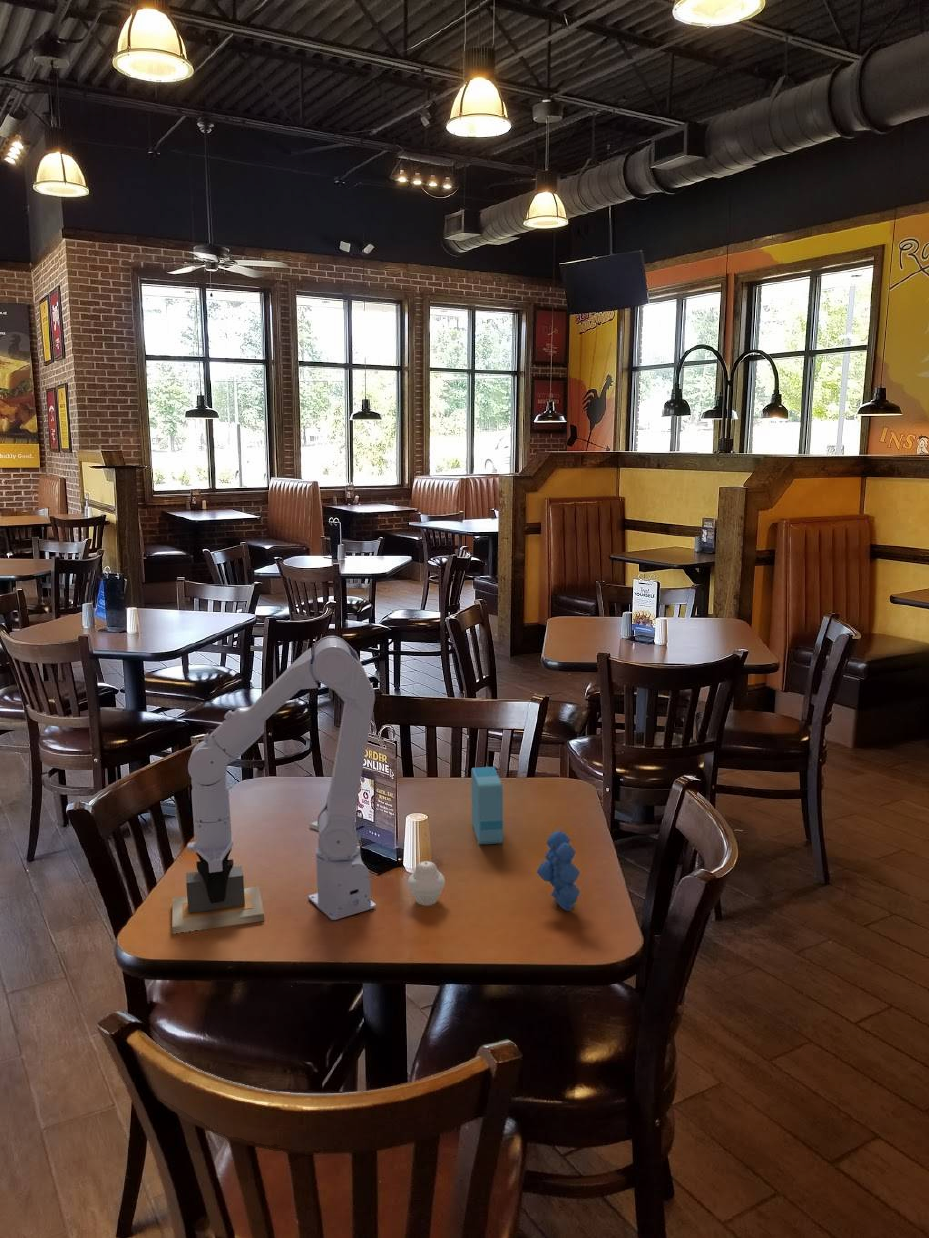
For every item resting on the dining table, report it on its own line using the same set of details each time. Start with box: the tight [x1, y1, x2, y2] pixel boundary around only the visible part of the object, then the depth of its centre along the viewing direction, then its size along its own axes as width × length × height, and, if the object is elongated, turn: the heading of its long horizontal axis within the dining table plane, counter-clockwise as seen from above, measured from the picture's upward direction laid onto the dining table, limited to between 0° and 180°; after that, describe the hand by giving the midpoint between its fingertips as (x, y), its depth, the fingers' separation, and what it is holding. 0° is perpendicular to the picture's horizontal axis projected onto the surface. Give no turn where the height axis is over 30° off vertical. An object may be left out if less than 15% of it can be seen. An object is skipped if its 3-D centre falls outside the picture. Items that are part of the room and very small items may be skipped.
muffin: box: [407, 860, 446, 907], centre depth 157 cm, size 6×6×7 cm
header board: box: [171, 886, 265, 935], centre depth 154 cm, size 14×10×4 cm
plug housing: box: [185, 865, 245, 914], centre depth 153 cm, size 9×4×5 cm, turn 106°
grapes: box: [536, 830, 581, 911], centre depth 155 cm, size 12×7×12 cm, turn 11°
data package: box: [470, 766, 504, 845], centre depth 183 cm, size 12×4×12 cm, turn 6°
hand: (216, 895), depth 154 cm, fingers closed on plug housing, 4 cm apart
